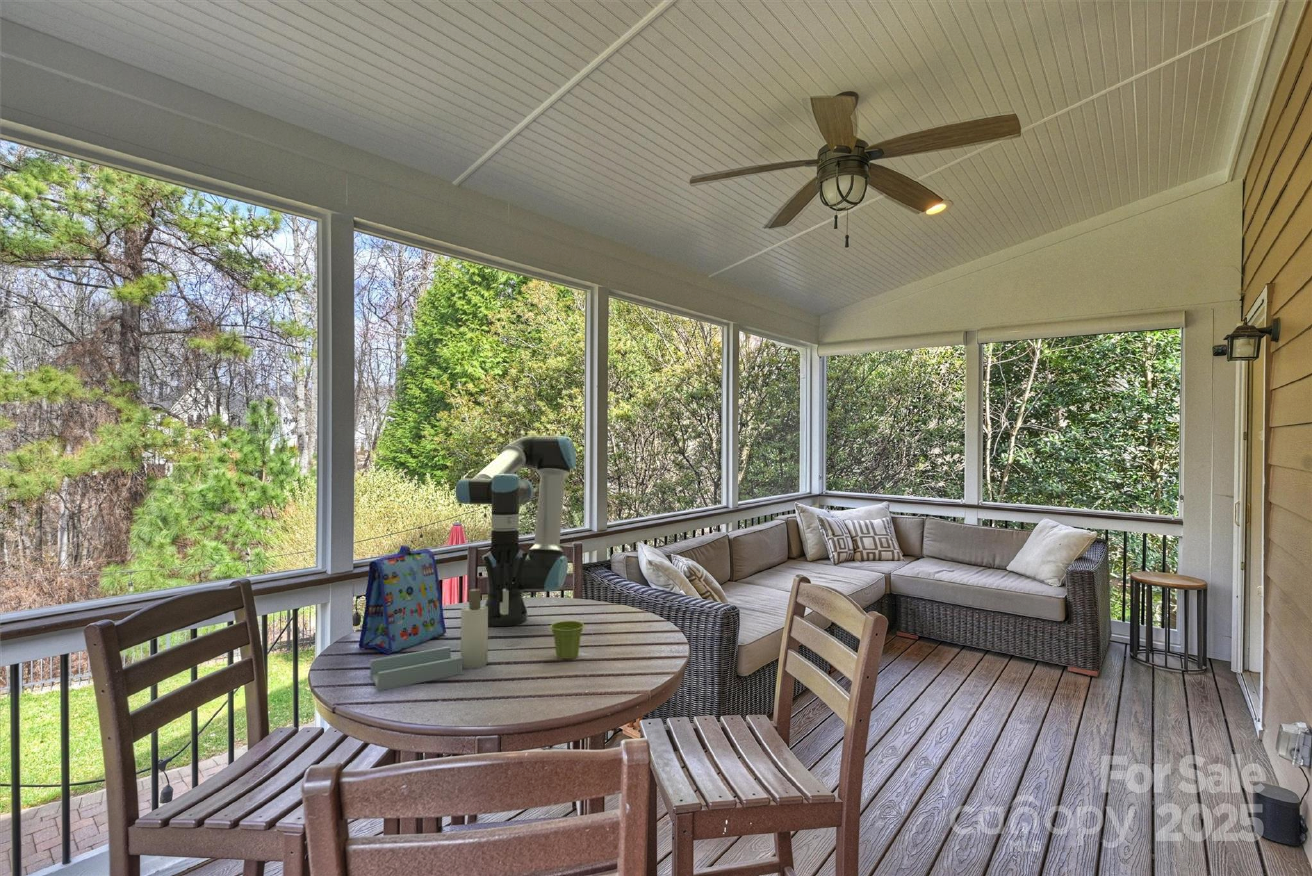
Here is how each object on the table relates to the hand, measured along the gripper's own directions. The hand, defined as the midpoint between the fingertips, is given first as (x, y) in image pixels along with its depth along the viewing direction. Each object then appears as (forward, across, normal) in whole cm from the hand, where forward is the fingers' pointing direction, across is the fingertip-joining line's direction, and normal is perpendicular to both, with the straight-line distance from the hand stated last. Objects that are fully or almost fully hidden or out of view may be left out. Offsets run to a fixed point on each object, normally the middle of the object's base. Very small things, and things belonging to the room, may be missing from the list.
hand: (504, 613), depth 170 cm
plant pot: (+13, +16, -8) cm, 22 cm away
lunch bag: (+13, -20, +31) cm, 39 cm away
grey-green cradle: (+13, -23, 0) cm, 26 cm away
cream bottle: (+13, -8, 0) cm, 15 cm away
